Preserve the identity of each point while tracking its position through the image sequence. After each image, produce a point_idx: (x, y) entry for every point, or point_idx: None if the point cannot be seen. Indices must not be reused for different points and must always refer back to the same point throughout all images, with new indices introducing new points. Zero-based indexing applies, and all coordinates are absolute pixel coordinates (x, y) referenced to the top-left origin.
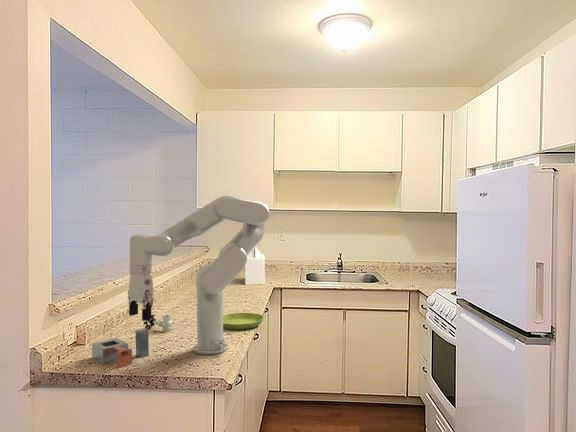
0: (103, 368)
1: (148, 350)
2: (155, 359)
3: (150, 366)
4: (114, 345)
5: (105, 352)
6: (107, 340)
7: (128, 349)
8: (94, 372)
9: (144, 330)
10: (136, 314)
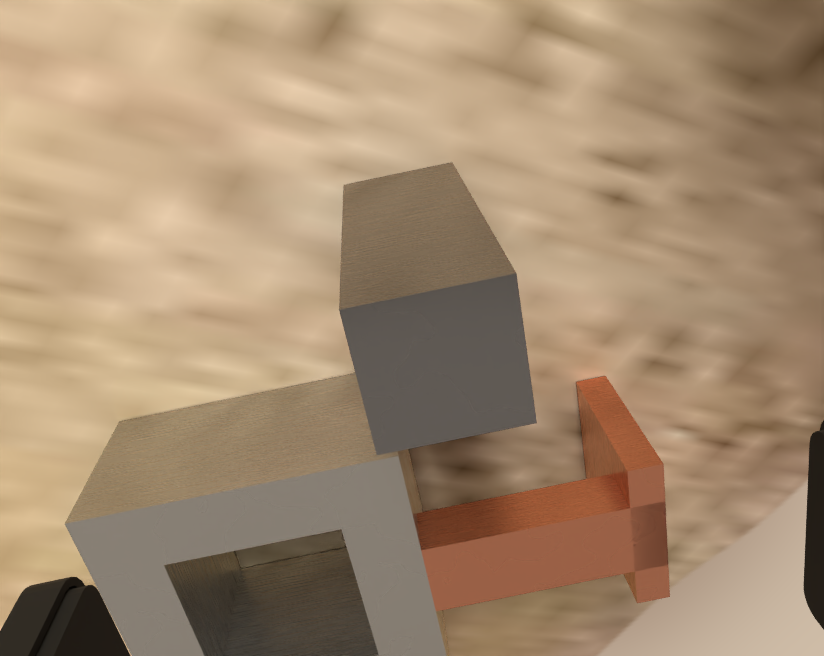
0: None
1: (460, 178)
2: (641, 135)
3: (804, 246)
4: (384, 586)
5: (444, 632)
6: (122, 619)
7: (643, 495)
8: (592, 635)
9: (467, 331)
10: (93, 602)
